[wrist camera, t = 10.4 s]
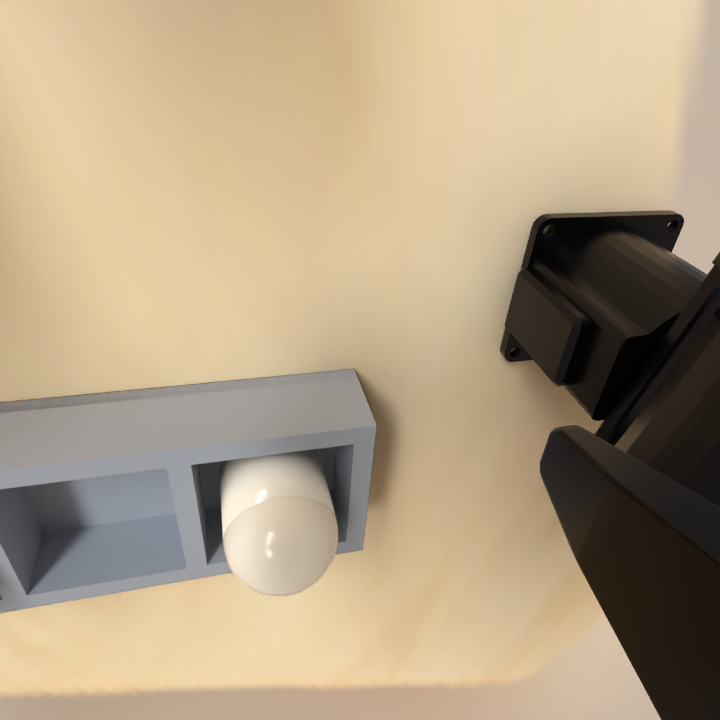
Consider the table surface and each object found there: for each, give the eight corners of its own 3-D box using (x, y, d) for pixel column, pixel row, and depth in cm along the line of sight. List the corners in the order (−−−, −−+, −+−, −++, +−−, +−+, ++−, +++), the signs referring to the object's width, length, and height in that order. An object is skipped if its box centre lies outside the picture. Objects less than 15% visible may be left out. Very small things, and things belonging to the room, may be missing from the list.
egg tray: (354, 369, 23) (376, 425, 20) (345, 489, 27) (362, 549, 24) (-258, 426, 18) (-339, 511, 15) (-150, 562, 22) (-199, 647, 19)
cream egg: (318, 411, 23) (353, 537, 18) (316, 481, 25) (346, 608, 20) (214, 423, 22) (220, 559, 17) (222, 494, 24) (230, 631, 19)
